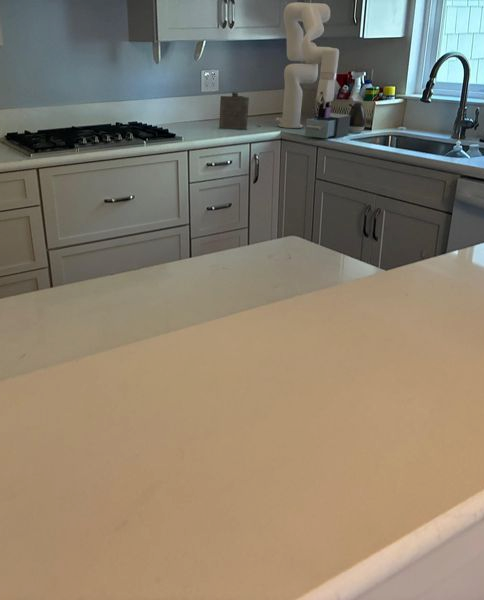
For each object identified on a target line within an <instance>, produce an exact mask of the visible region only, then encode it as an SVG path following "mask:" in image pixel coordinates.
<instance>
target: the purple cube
mask: <svg viewBox="0 0 484 600" xmlns="http://www.w3.org/2000/svg"><path fill="white" fill-rule="evenodd" d="M331 110H332V107H330V108H329V107H325V117H324V118H329V117H330V113H331ZM318 111H319V108H317V112H318ZM316 115H317V117H318V114H316ZM319 118H320V117H319Z"/></svg>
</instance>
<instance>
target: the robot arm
mask: <svg viewBox="0 0 484 600" xmlns="http://www.w3.org/2000/svg"><path fill="white" fill-rule="evenodd" d="M330 18H331V8H330V6H329V5H328V4H326V3H320V2H319V3H317V2H297V1H296V2H290V3H288V4H287V5H286V6H285V8H284V11H283V23H284V27H285V28H284V29H285V34H286V58H287V59H288V61H291V62H305V63H290V64H287V66H285V68H284V72H283V78H284V94H283V103H282V105H283V106H282V116H281V117H276V118H275V122H279V123H278V127H280V128H285V129H302V128H303V124H301V116H302V105H303V96H304V95H303V93H304V91H303V89H302V87H301V85H300V84H313V83H315V82H316V81H317V79H318V76H319V82H318V85H317V91H316V96H315V97H316V98H315V101H316V102H317V104H318V105H317V106H318V108H319V111H318V110H317V115H318V117H320V118H324V117H325V107H329V108H332V107H331V106H332V103H333V101H334V98H335V88H336V87H335V86H336V81H337V75H338V67H339V66H338V65H339V56H340V50H339V48H337V47H331V46H317V44H316V43H315V42H313V41H314V40H316V39H318V38H319V37H322V35H323V33H324V32H325V28H324V23H327V22H328V21H329V20H330ZM299 22H302V24H303V27H304V30H305V34H304V30H303V28H302V26H301V25H300V23H299ZM319 65H320V72H319ZM318 108H317V109H318Z"/></svg>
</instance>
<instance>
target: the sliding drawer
mask: <svg viewBox="0 0 484 600" xmlns="http://www.w3.org/2000/svg"><path fill="white" fill-rule="evenodd" d="M336 123H337V119H329V118H314V117H313V118H306V121H305V131H304V136H305V137H310V138H311V137H312V138H318V139H319V138H320V139H328V138H330V136H334V135H335V132H336Z"/></svg>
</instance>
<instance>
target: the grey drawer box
mask: <svg viewBox="0 0 484 600" xmlns="http://www.w3.org/2000/svg"><path fill="white" fill-rule="evenodd" d="M317 115H318V114H315V115H314V116H313V119H314V118H319V117H317ZM350 117H351V115H348V114H342V113H335V112H334V113H333V112H330V117H329V119H337V123H336V132H335V135H334V136H330V137H329V138H330V139H331V138H332V139H338V138H343V137H346V136H349V133H350V132H349V124H350Z"/></svg>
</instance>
